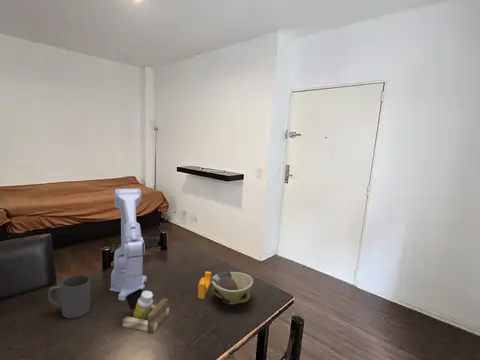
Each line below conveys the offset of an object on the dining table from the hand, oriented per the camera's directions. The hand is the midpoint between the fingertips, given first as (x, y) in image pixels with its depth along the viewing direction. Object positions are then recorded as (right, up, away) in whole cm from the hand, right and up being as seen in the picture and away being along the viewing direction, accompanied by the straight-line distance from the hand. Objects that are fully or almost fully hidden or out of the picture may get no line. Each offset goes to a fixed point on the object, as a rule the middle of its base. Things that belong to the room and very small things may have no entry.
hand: (133, 308), depth 100 cm
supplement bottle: (+3, -3, 0) cm, 4 cm away
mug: (-24, -2, +1) cm, 24 cm away
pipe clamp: (+23, -3, +21) cm, 31 cm away
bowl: (+35, -4, +15) cm, 39 cm away
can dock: (+5, -4, -1) cm, 7 cm away
